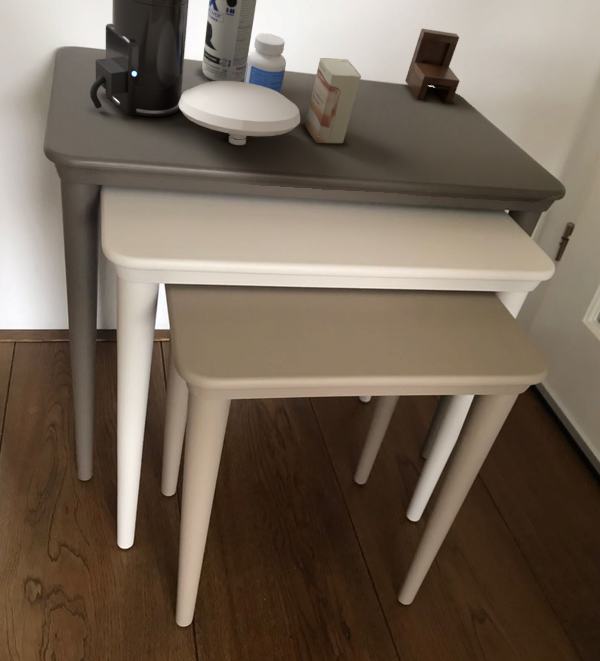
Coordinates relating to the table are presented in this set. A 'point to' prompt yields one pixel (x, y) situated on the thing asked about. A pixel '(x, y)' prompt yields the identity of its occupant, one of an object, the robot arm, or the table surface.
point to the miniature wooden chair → (433, 65)
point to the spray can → (228, 39)
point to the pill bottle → (266, 62)
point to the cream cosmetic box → (332, 100)
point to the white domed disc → (239, 109)
